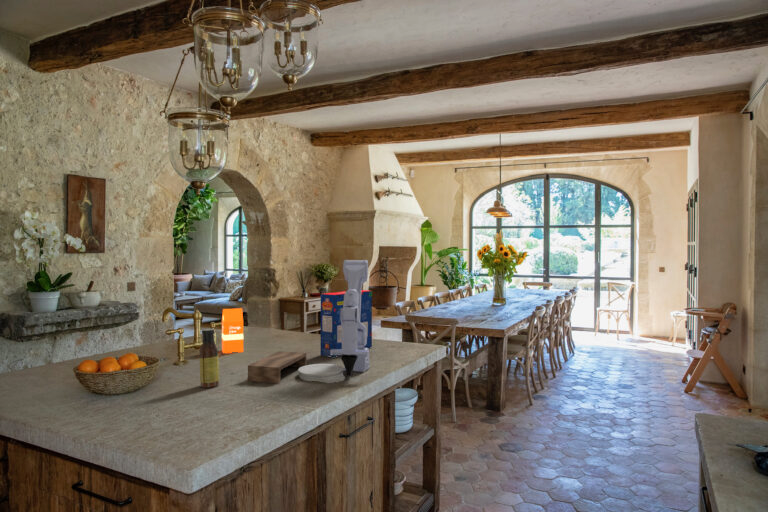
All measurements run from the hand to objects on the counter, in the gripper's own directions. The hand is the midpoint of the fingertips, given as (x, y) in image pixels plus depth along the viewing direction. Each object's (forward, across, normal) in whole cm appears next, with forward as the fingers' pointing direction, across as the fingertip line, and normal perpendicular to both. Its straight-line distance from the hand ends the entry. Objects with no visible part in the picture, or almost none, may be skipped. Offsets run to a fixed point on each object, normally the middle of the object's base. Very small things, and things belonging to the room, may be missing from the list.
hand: (349, 375), depth 186 cm
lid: (+2, -10, 0) cm, 11 cm away
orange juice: (+2, -67, +33) cm, 75 cm away
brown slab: (+1, -28, 0) cm, 28 cm away
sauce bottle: (+1, -44, -22) cm, 50 cm away
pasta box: (+2, -15, +46) cm, 49 cm away
